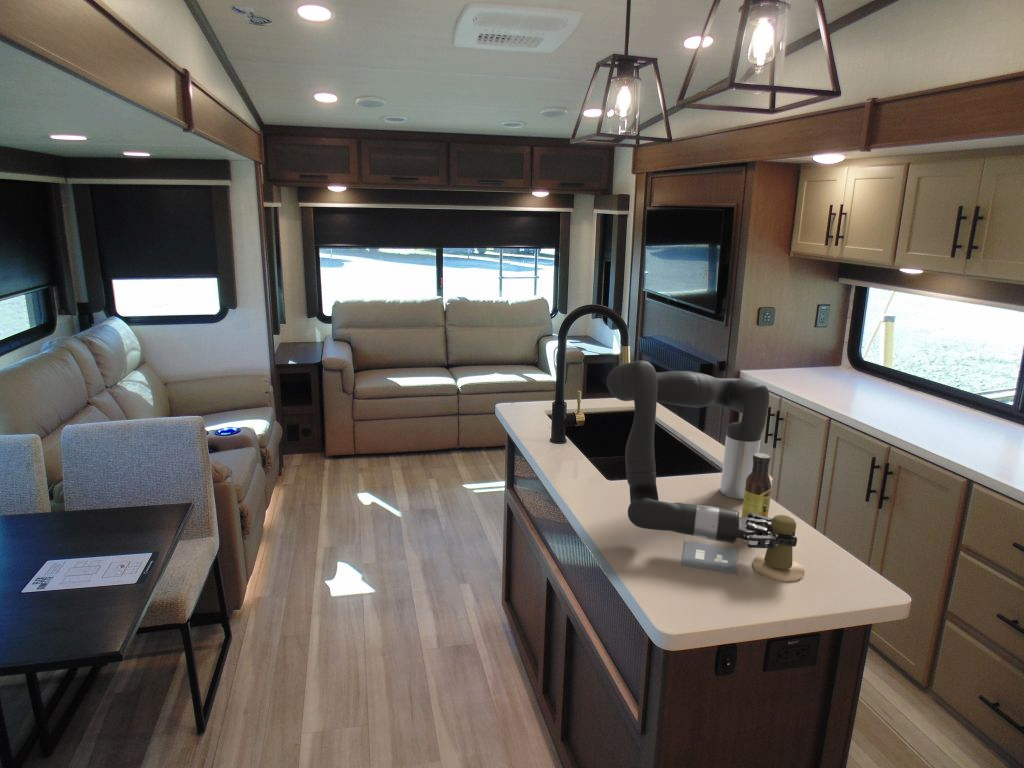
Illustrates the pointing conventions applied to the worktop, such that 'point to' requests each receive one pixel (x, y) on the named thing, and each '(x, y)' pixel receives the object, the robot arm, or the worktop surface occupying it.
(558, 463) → the worktop surface
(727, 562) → the tile
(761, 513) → the sauce bottle
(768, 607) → the worktop surface
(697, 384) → the robot arm
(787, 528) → the pepper shaker
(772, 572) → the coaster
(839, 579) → the worktop surface
